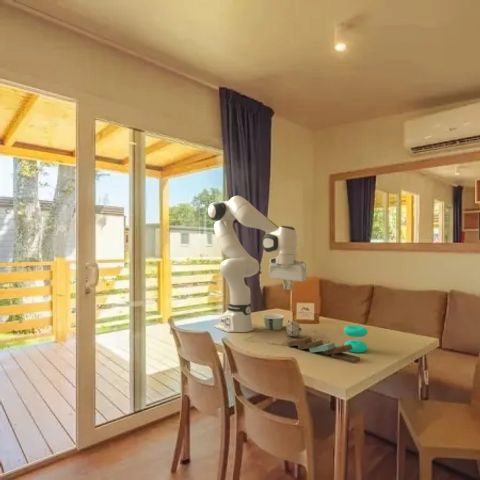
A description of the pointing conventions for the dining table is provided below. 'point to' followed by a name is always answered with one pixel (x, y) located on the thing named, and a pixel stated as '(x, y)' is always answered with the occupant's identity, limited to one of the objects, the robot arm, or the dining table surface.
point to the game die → (293, 328)
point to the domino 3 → (322, 347)
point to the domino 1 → (299, 341)
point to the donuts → (356, 332)
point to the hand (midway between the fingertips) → (287, 289)
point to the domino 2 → (310, 344)
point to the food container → (273, 321)
